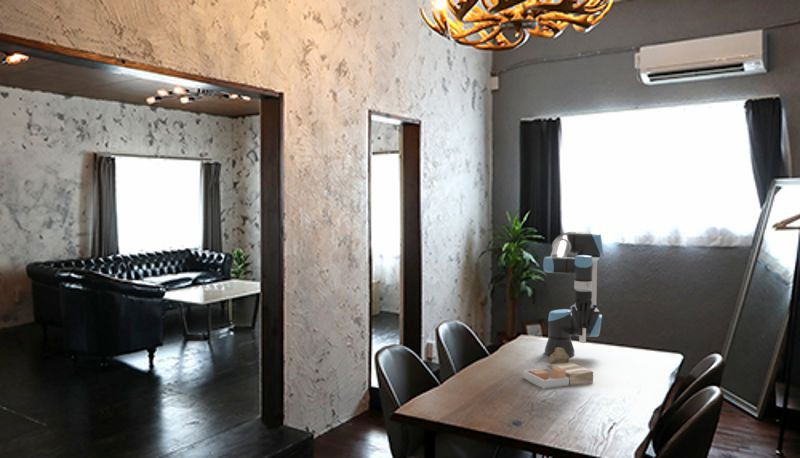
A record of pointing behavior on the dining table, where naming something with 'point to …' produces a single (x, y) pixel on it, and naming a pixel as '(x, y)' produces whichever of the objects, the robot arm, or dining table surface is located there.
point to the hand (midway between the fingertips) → (582, 342)
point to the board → (575, 373)
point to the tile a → (540, 374)
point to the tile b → (557, 373)
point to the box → (545, 383)
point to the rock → (558, 356)
